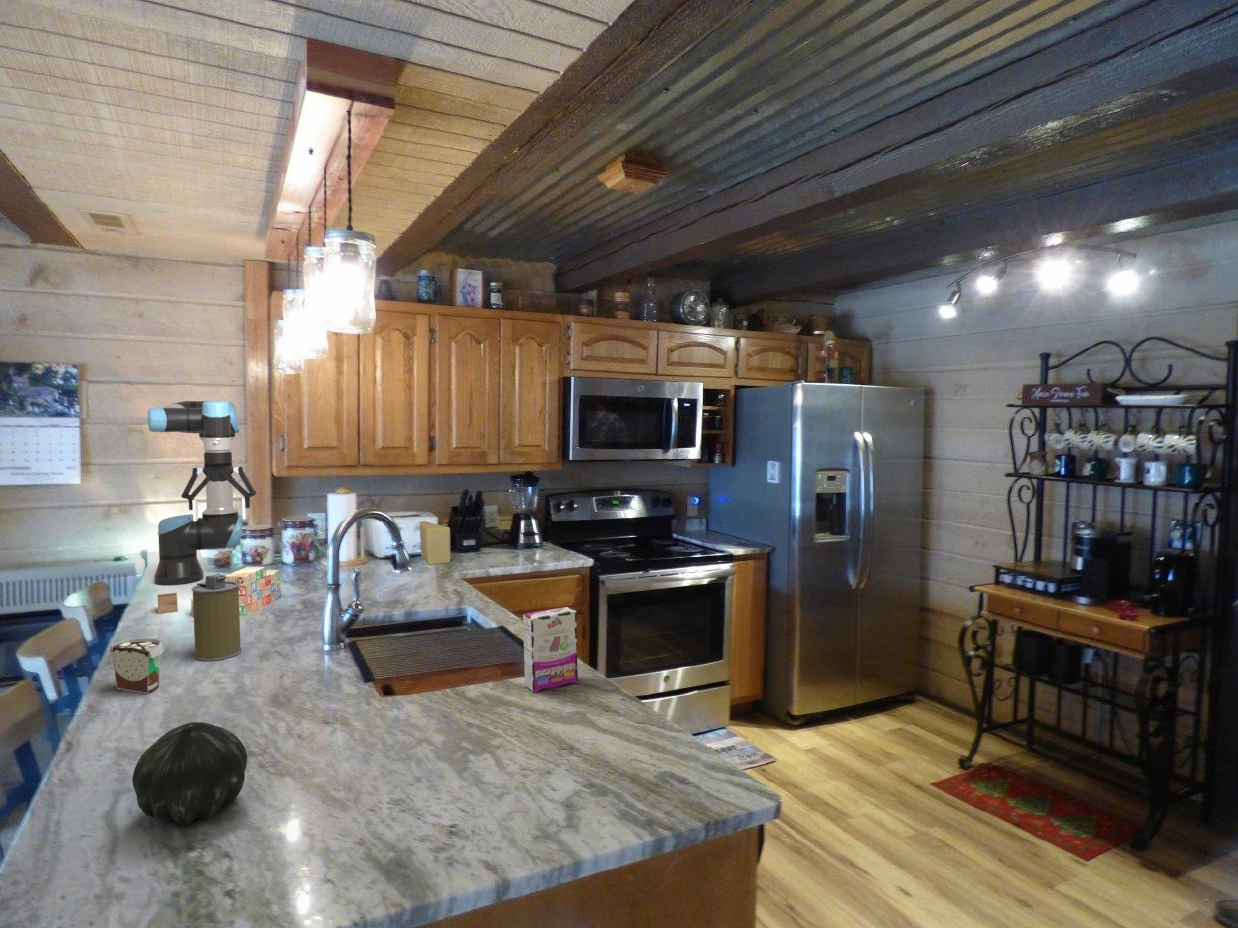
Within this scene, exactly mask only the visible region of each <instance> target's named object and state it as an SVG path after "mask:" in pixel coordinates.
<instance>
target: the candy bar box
mask: <svg viewBox="0 0 1238 928" xmlns="http://www.w3.org/2000/svg"><path fill="white" fill-rule="evenodd" d="M577 616H578V615H577V611H576V610H575V609H573V608H571V607H569V606H564V607H557V608H551V609H546V610H540V611H534V612H529V613H524V614H522V618H523V619H522V622H523V623H522V624H523V652H524V653H523V658H524V659H523V660H524V661H523V663H524V665H523V666H524V686H525V688H527V689H528V690H530V691H531V692H533V693H538V692H542V691H546V690H551V689H555V688H560V687H564V686H569V685H572V684H577V683H578V682H579V681H578V680H579V679H578V676H579V675H578V673H579V671H578V669H579V668H578V630H577V629H578V628H577V627H578V626H577V625H578V624H577V623H578V622H577V621H578V620H577Z"/></svg>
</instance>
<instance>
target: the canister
mask: <svg viewBox="0 0 1238 928" xmlns="http://www.w3.org/2000/svg"><path fill="white" fill-rule="evenodd" d="M225 578H226V575H225V574H220V573H214V574H211V575H207V576H205V581H203V582H199V583H196V585H194V586H193V587H191V588H190V589H191V592H192V599H193V610H194V616H193V633H194V635H193V636H194V655H193V658H194V659H195V661H196V660H197V661H200V662H216V661H221V660H226V659H231V658H233V657H236V656H238V655H239V654H241V653H242V651H243V650H242V647H241V622H240V619H241V618H240V615H239V588H238V587H239V583H238V582H233V581H225Z"/></svg>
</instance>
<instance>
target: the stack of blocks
mask: <svg viewBox="0 0 1238 928" xmlns="http://www.w3.org/2000/svg"><path fill="white" fill-rule="evenodd" d="M225 576H226V578H225V581H233V582H238V583H239V587H238V588H239V616H249V615H251V614H253V613H255V612H257V611H258V610H260V609H263V608H264V607H266V606H267V605H270V604H271V603H273V602H276V601H277V600H279V599H281V595H282V594H281V577H280V570H276V569H275V570H274V569H273V570H272V569H271V570H270V569H268V570H267V569H266V567H265V566H253V567H252V566H246V567H243V568H241V569H238V570H237V571H234V572H231V573H229V574H227V575H225Z"/></svg>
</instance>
